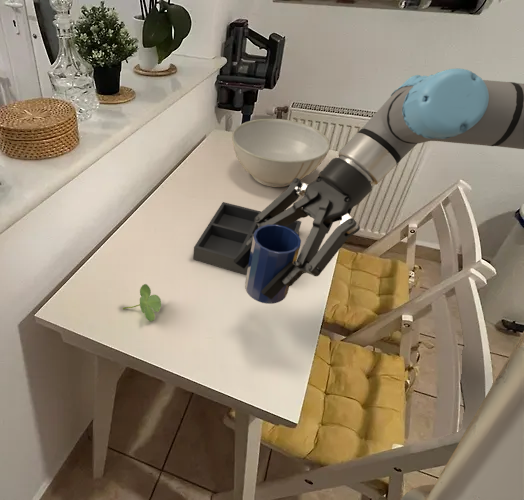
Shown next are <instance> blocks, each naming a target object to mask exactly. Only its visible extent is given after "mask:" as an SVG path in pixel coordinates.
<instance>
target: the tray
mask: <svg viewBox="0 0 524 500" xmlns="http://www.w3.org/2000/svg"><path fill="white" fill-rule="evenodd" d="M261 212H262V211H260V210H257V209H253V208H249V207H244V206H241V205H237V204H233V203H229V202H226V201H225V202H224V201H222V202H221V204H220V205H219V207H218V209H217V210H216V212H215V213H214V215H213V216H212V218H211V219H210V221H209V223H208V224H207V226H206V227H205V229H204V231H203V232H202V234H201V235H200V237H199V238H198V240H197V242H196V243H195V245H193V257H192V259H193V260H194V261H198V262H202V263H204V264H208V265H211V266H214V267H218V268H222V269H224V270H228V271H231V272H234V273H237V274H240V275H245V276H246V275H247V270H248V265H247V266H246V267H245V268H244V269H243V268H242V267H240V266H239V265H237V264H236V263H235V262H234V260H235V259H236V258H237V256H238V255H239V254H240V253H241V252H242V251H243V250H244V249H245V248H246V247H247V245H246V243H247V241H248V240H249V239H250V238H251V237H252V236H253V234H254V233H255V231H256V230H257V229H258V226H257V223H256V222H255V217H256V216H257V215H258V214H260V213H261ZM301 225H302V220H301V221H300V220H296V221H295V222H293V223H291V224H289V225H288V226H286V227H288V228H290V229H292V230H293V231H295V232H296V233H297V234H298V235H299V233H300V229H301Z"/></svg>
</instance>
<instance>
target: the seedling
mask: <svg viewBox="0 0 524 500" xmlns="http://www.w3.org/2000/svg"><path fill="white" fill-rule="evenodd" d="M151 293H152V291H151V288H150V286H149V285H148V284H147V283H145V284H142V286H140V289H139V295H140V298H139V304H136V305H132V306H126V307H122V309H123V310H125V309H133V308H136V307H140V310H141V313H142V314H144V317H145V319H146V320H147V321H148V322H153V321H155V319H156V315H155V312H156V313H158V312H160V309H161V307H162V301H161V298H160V296H159V295H158V294H151Z"/></svg>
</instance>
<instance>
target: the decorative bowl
mask: <svg viewBox="0 0 524 500" xmlns="http://www.w3.org/2000/svg"><path fill="white" fill-rule="evenodd" d="M231 142H232V147H233V151H234V154H235V155H236V159H237V160H238V162H239V163H240V165H241V166H242V168H243V169H244V170H245V172H247V173H248V174H249V175H251V176H252V178H253V179H254V180H255V181H256V183H259V184H261V185H263V186H266V187H272V188H283V187H289V185H290V184H291V182H292V181H293V180H294V179H295V178H299V179H300V180H302V179H304V178H306V177H307V176H308V175H310V174H312V173H313V172H314V171H315V170H316V169H317V168H318V167H319V166H320V165H321V164H322V162H323V161H324V160H325V158H326V157H327V155H328V153H329V152H330V149H331V143H330V140H329V138H328V137H327V136H326V135H325V134H324V132H321V131H320V130H318V129H316V128H315V127H313V126H311V125H308V124H306V123H302V122H298V121H294V120H289V119H281V118H259V119H253V120H248V121H245V122H242V123H241V124H239V125H238V126H236V127H235V128H234V129H233V131H232V133H231Z"/></svg>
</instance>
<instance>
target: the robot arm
mask: <svg viewBox="0 0 524 500" xmlns="http://www.w3.org/2000/svg"><path fill="white" fill-rule="evenodd" d="M427 142H441V143H442V142H443V143H454V144H465V145H474V146H486V147H499V148H508V149H518V150H524V83H521V82H520V83H519V82H513V81H502V80H501V81H500V80H488V79H483V78H482V77H480V76H479V75H477V74H476V73H474V72H472V71H471V70H468V69H465V68H456V67H455V68H449V69H445V70H442V71H439V72H438V71H437V72H436V73H434V74H430V75H420V74H416V75H412V76H410V77H408V79H406V80H405V81H404V82H403V83H402V84H401V85H400V86H399V87H398V88H397V89H394V91H393V92H392V93H391V94H390V96H389V97H388V98H387V100H386V101H385V102H384V104H383V105H382V106H381V107H380V108H379V109H378V110H377V111H376V112H375V113H374V114H373V116H372V117H370V119H368V121H367V122H366V123H365V124H364V126H363V127H362V128H361V129H360V130H358V131H357V133H355V134H354V135H353V136H352V137H351V138H350V139H349V141H347V143H346V144H345V145H343V147H342V148H340V150H339V151H338V153H337V154H338V157H333V158H332V159H330V161H329V162H328V163H327V164H326V165H325V166H324V167H323V169H322V170H320V172H319V174H318V176H317V178H316V179H315V180H314V181H312V182H310V183H309V184H308V183H305V182H303V181H302V180H301V179H299V178H295V179H294V180H293V181H292V182H291V184H290V185H288V186H287V188H286V189H285V190H284V191H283V192H282V193H281V194H280V195H278V197H276V198H275V199H274V200H273V201H272V202H271V203H269V204H268V205H267V206H266V207H265V208H264V209H263V210H262V211H261V213H260V214H258V215H257V216H256V217H255V222H256V223H257V226H258V228H259V227H261V226H264V225H272V224H276V225H281V226H285V227H286V226H288V225H289V224H291V223H293V222H295V221H296V220H297V221H299V220H300V219H302V218H303V219H305V218H307V217H310V218H312V219H313V221H312V226H311V229H310V231H309V233H308V235H307V238H306V240H305V242H304V244H303V246H302V248H301V251H299V253H298V256H297V260H296V261H293V263H292V262H289V263H288V264H287V265H286V266H285V267H284V268H283V269H282V270H281V271H280V272H279V273H278V274H277V275H276V276H275V277H274V278H273V279H272V280H271V281H270V282H269V284H268V285H267V286H266V287H265V288H264V289H263V290H262V291H261V293H262V294H263V295H265V296H266V297H268V298H270V299H272V298H273V297H274V296H275V295H276V294H277V293H278V292H279V291H280V290H281V289H282V288H283V287H284V286H285V285H286V286H288V287H289V288H290V287H291V286H293V285H294V284H295V283H296V282H297V281H298V280H299V279H300V278H301V277H302V276H303V275H304V274H309V275H311V276H313V277H319V276H320V275H321V274H322V272H323V271H324V269H326V267H327V266H328V264H329V263H330V262H331V261H332V260H333V258H334V257H335V256H336V254H337V253H338V252H339V251H340V249H341V248H342V247H343V245H344V244H345V243H346V242H347V240H348V239H349V238H350V237H352V236H354V235H355V234H356V233H358V232H359V231H360V230H361V226H360V225H359V224H358V222H357V221H356V219H354V218H352V216H351V213H352V211H353V208H354V207H356V206H358V205H359V204H360V203H362V201H363V200H364V199H365V198H366V197H367V196H368V195H369V194H370V193H371V192H372V190H373V186H375V185H378V184H380V182H382V181H383V179H384V178H385V177H386V176H387V175H388V174H389V173H390V172H391V171H392V170H393V169H395V167H396V166H397V165H398V164H399V163H400V162H401V160H403V158H405V157H406V156H407V154H408V153H410V152H411V150H413V149H414V148H415V147H416V146H417V145H418V144H423V143H427ZM372 185H373V186H372ZM300 197H302V198H300ZM299 198H300V199H299ZM336 222H339V223H338V226H337V227H336V228H335V229H334V230H333V232H332V233H331V234H330V235H329V237H328V238H327V239H326V240H325V242H324V239H325V237H326V235H327V234H329V233H330V230H331V229H332V226H333V224H334V223H336ZM253 236H254V234H253ZM253 236H252V237H251V238H250V239H249V240H248V241H247V243H246V245H247V247H246V248H245V249H244V250H243V251H242V252H241V253H240V254H239V255H238V256H237V258H236V259H235V260H234V262H235V263H236V264H237V265H239V266H240V267H242V268H243V269H244V268H245V267H246V266H247V265H248V264H249V258H250V252H251V247H252V241H253ZM323 242H324V243H323ZM322 243H323V244H322ZM321 245H322V246H321ZM441 471H442V472H441V473H440V475H439V477H438V478H437V479H436V481H435V483H434V484H424V485H419V486H417V487H414V488H412V489H410V490H409V491H407V492H405V493H404V494H403V496H402V497H401V498H400V500H524V331H522V333H521V335H520V337H519V339H518V340H517V342H516V344H515V345H514V347H513V349H512V350H511V353H510V354H509V356H508V357H507V360H506V361H505V363H504V364H503V366H502V368H501V369H500V371H499V372H498V375H497V376H496V378H495V379H494V382H493V383H492V385H491V387H490V388H489V390H488V392H487V393H486V395H485V397H484V399H483V400H482V402H481V404H480V405H479V407H478V409H477V411H476V412H475V414H474V415H473V417H472V419H471V421H470V423H469V425H468V426H467V428H466V430H465V432H464V434H463V435H462V436H461V438H460V440H459V442H458V444H457V445H456V447H455V449H454V451H453V452H452V454H451V456H450V457H449V459H448V461H447V462H446V464H445V466H444V468H443V470H441Z"/></svg>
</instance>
